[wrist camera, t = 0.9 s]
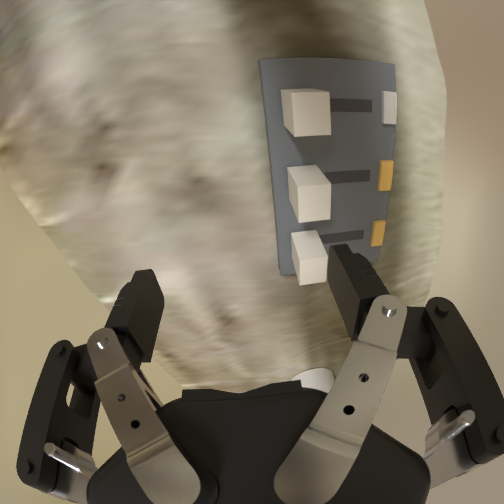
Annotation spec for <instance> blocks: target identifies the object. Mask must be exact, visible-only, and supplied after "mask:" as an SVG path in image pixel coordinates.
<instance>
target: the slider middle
mask: <svg viewBox="0 0 504 504" xmlns="http://www.w3.org/2000/svg"><path fill="white" fill-rule="evenodd" d="M287 171H288V186H289V199H290V202H291V204H292V207H293V209H294V212H295V214H296V217H297V220H298V222H299V223H303V222H311V221H320V220H329V219H330V211H331V183H330V182H329V180H328V179H327V178H326V177H325V175H324V174H323V173H322V172H321V170H320V169H319V168H318V167H317V165H307V166H295V167H287Z"/></svg>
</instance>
